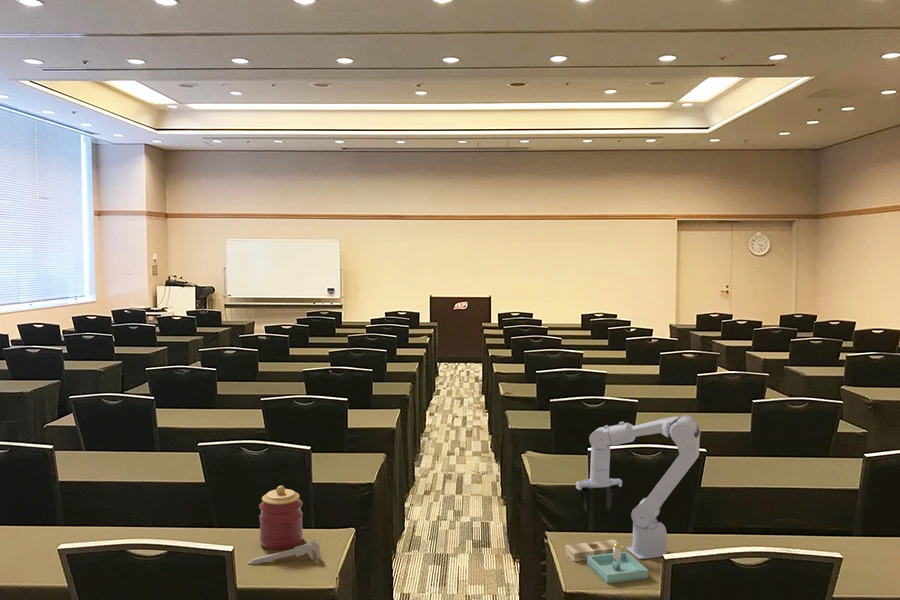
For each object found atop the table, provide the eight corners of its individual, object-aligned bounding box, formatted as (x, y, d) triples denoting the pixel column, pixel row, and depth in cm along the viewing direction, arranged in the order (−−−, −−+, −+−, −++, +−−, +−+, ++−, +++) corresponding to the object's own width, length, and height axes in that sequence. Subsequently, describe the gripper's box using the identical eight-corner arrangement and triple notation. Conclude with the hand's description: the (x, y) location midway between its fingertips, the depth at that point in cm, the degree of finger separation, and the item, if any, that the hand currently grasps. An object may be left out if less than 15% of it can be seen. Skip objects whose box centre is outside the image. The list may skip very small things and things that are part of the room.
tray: (625, 559, 219) (625, 551, 219) (647, 578, 207) (648, 569, 207) (586, 564, 216) (587, 556, 215) (607, 583, 204) (607, 575, 203)
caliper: (321, 556, 219) (317, 537, 219) (321, 558, 218) (317, 538, 218) (251, 575, 216) (246, 556, 215) (250, 577, 215) (246, 557, 214)
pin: (617, 567, 213) (618, 541, 212) (622, 570, 211) (622, 544, 210) (611, 568, 212) (611, 542, 211) (615, 571, 210) (616, 545, 209)
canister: (255, 550, 224) (254, 493, 222) (265, 533, 237) (264, 479, 235) (298, 550, 224) (298, 493, 223) (306, 533, 237) (305, 479, 236)
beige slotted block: (613, 547, 227) (614, 539, 227) (623, 555, 222) (623, 547, 222) (565, 553, 223) (565, 545, 223) (573, 561, 217) (574, 553, 217)
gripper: (615, 461, 234) (613, 503, 236) (572, 464, 230) (570, 507, 232) (626, 468, 228) (624, 512, 229) (582, 471, 224) (580, 515, 225)
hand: (597, 510), depth 230 cm, fingers open, 7 cm apart
